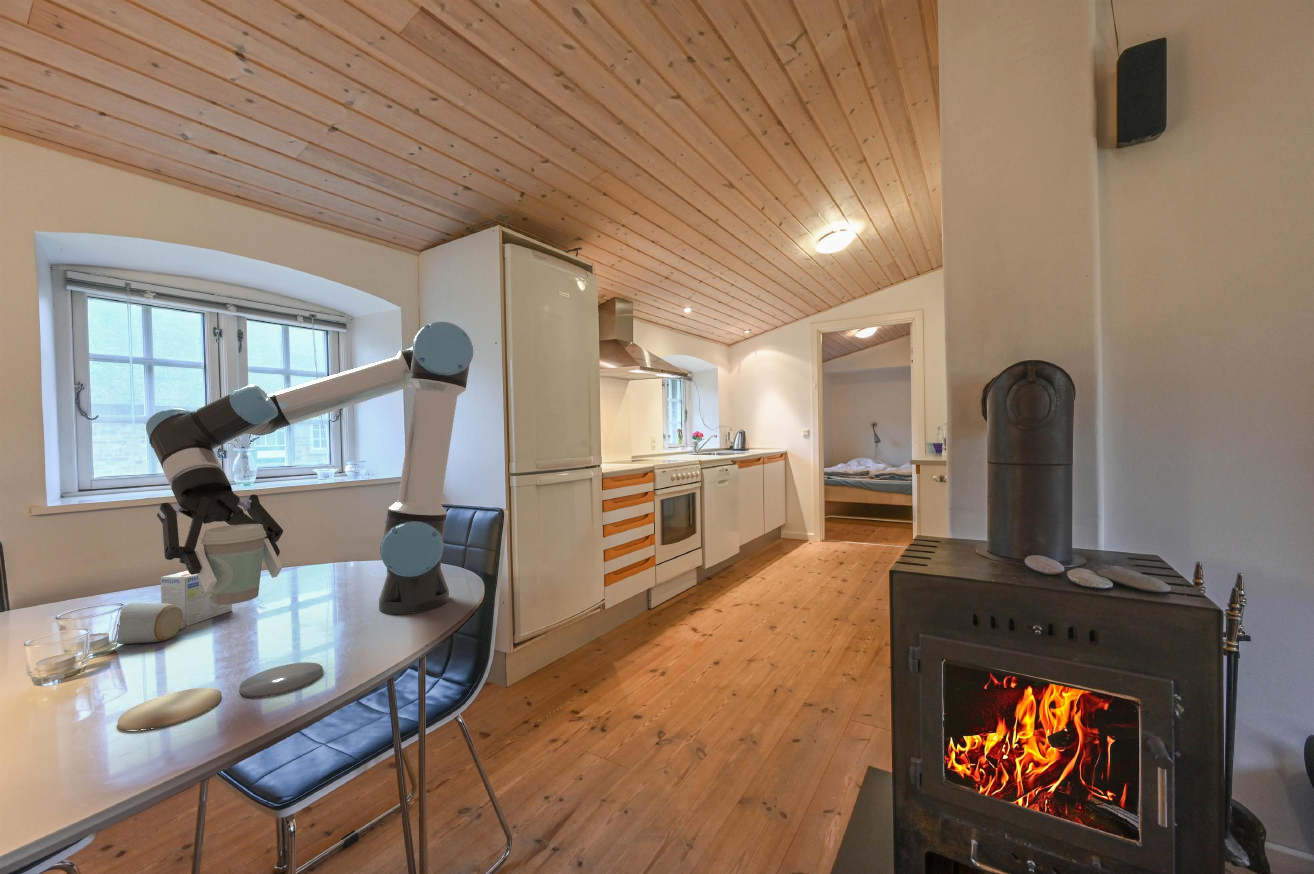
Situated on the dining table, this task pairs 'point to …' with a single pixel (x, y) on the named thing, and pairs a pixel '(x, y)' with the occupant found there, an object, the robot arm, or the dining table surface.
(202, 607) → the light bulb box
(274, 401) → the robot arm
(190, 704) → the cork coaster
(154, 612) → the ceramic mug
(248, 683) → the slate coaster
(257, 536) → the coffee cup
